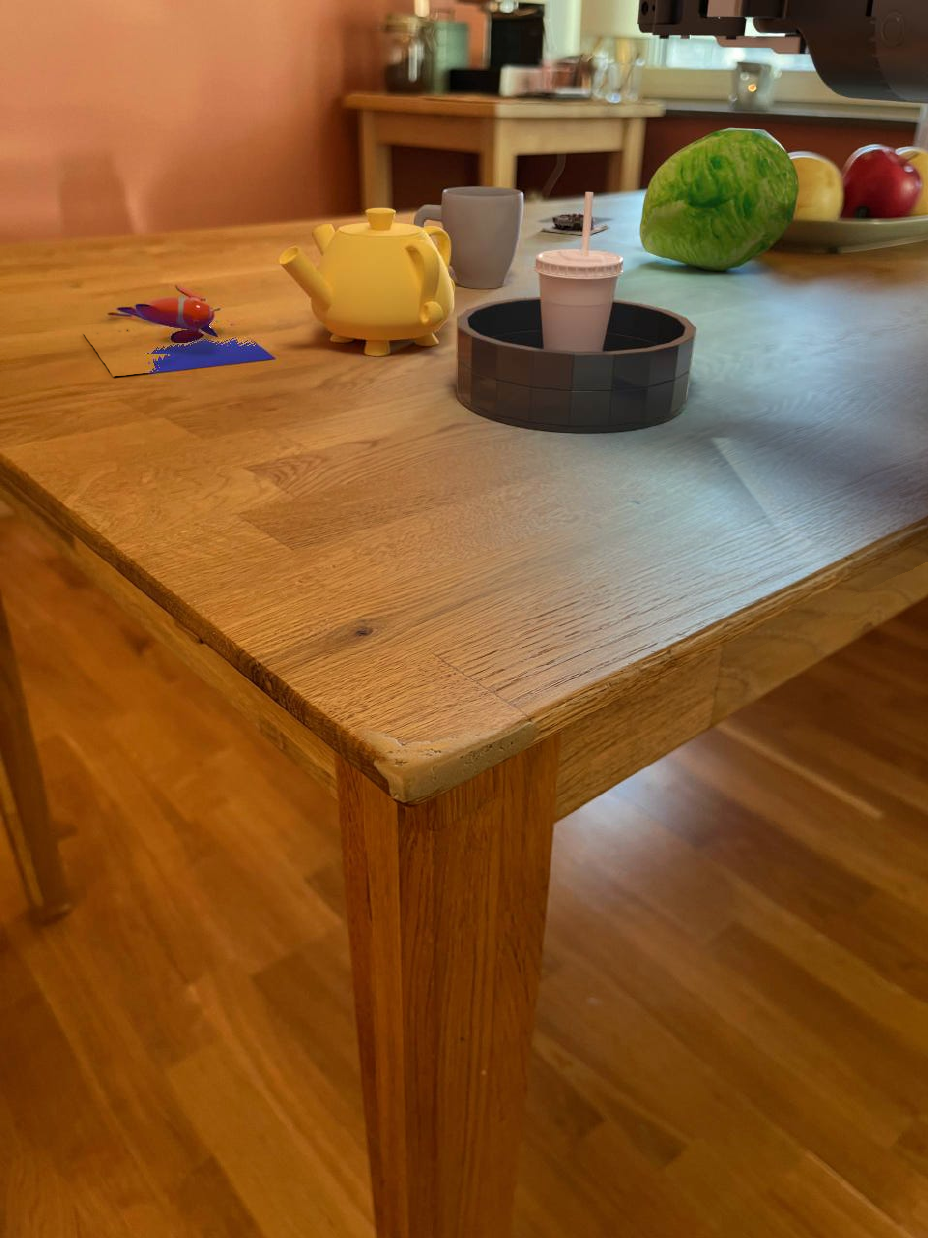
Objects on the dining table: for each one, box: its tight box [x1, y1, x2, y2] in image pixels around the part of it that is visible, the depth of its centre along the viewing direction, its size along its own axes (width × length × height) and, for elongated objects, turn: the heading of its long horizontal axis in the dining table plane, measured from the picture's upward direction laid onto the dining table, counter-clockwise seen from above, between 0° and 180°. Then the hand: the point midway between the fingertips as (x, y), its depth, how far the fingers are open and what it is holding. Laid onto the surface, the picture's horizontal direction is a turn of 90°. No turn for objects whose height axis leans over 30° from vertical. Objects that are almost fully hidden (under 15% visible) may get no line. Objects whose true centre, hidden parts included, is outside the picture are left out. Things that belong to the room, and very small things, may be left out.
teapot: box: [278, 207, 456, 357], centre depth 86 cm, size 14×14×11 cm
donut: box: [540, 213, 610, 236], centre depth 144 cm, size 8×8×2 cm
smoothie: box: [534, 191, 624, 352], centre depth 72 cm, size 6×6×14 cm
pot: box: [455, 296, 697, 434], centre depth 75 cm, size 18×18×6 cm
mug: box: [413, 185, 524, 290], centre depth 109 cm, size 12×9×10 cm
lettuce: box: [638, 127, 800, 271], centre depth 118 cm, size 17×20×17 cm
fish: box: [107, 284, 221, 343], centre depth 85 cm, size 13×5×9 cm
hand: (707, 10), depth 55 cm, fingers open, 8 cm apart
